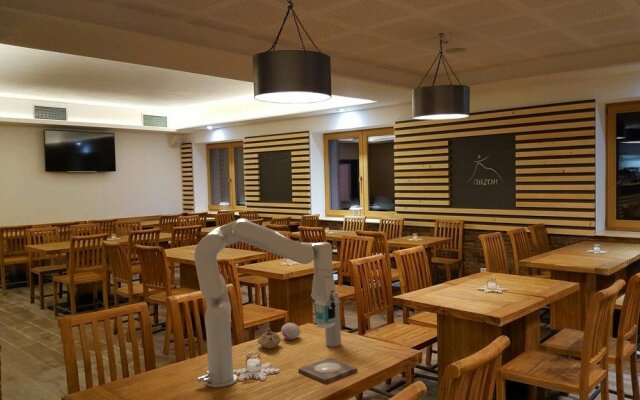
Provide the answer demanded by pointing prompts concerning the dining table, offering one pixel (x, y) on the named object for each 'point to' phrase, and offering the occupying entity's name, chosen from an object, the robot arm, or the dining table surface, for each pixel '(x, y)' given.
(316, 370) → the serving board
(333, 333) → the water bottle
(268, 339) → the oil lamp
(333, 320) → the pill bottle
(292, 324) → the decorative item
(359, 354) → the dining table surface
